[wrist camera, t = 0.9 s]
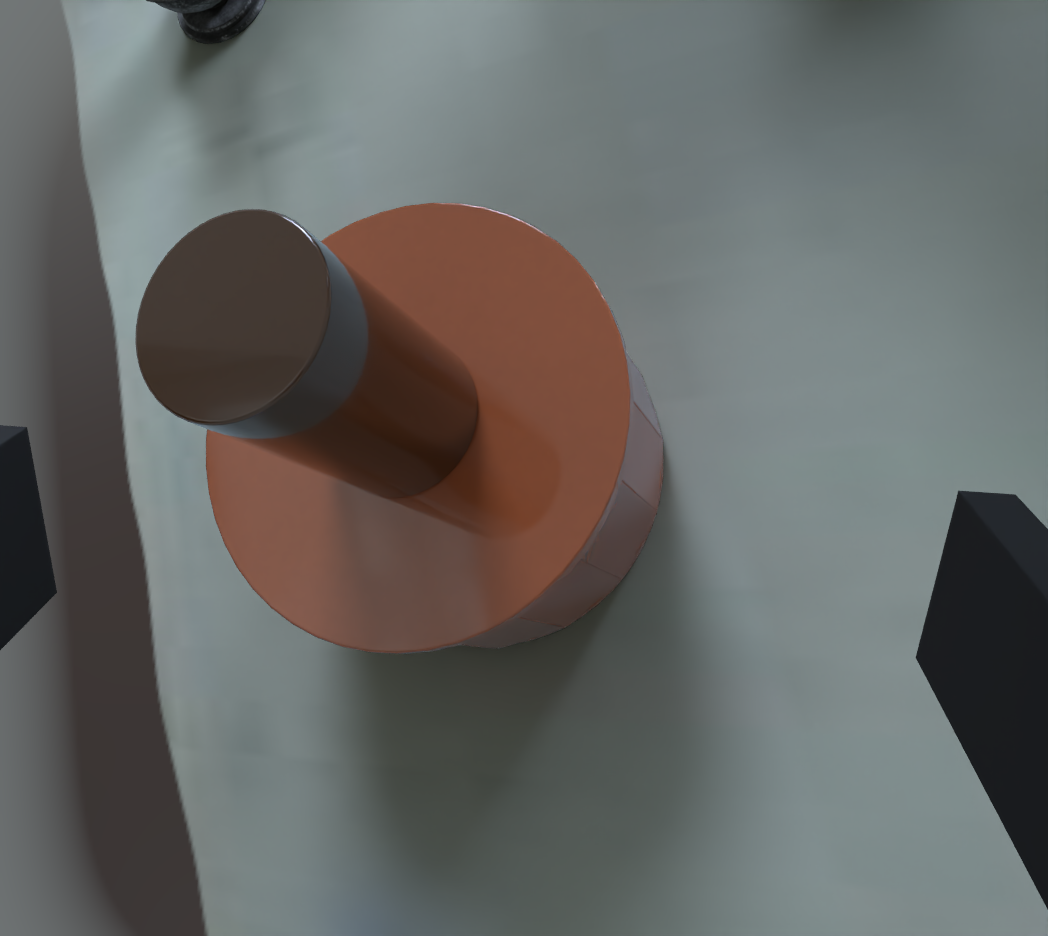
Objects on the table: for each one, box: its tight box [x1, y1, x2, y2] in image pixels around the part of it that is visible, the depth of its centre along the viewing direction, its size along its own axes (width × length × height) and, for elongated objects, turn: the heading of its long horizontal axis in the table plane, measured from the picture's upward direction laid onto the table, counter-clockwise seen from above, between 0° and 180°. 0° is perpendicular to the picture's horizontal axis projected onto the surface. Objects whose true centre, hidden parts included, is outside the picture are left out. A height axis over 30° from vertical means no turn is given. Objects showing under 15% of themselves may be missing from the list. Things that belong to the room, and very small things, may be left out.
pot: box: [462, 353, 663, 649], centre depth 34 cm, size 14×14×8 cm
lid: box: [136, 203, 634, 654], centre depth 26 cm, size 15×15×10 cm
